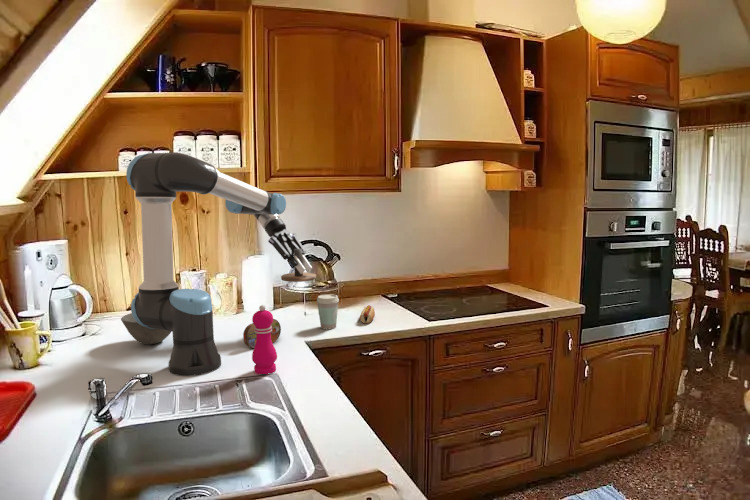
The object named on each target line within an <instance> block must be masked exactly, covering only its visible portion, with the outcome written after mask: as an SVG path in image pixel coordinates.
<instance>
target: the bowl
mask: <svg viewBox="0 0 750 500" xmlns="http://www.w3.org/2000/svg"><path fill="white" fill-rule="evenodd" d="M120 321H121V322H122V323H123V325H124V327H125V328H126V330H127V332H128V334H130V335H131V337H132V338H133V339H134V340H136V341H137V342H139V344H143V345H154V344H159V343H161V342H163V341H164V340H165V339H166V338H168V337H169V336H170V335H171V333H173V332H172V331H166V330H159V329H150V328H147V327H144V326H142V325H140V324H138V323H137V322H136V321H135V319H134V318H133V316H132V312H130V313H127V314H126V315H123V316H122V317H121V318H120Z"/></svg>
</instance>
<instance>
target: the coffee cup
mask: <svg viewBox="0 0 750 500" xmlns="http://www.w3.org/2000/svg"><path fill="white" fill-rule="evenodd" d="M339 302H340V299H339V296H338V295H337V294H332V293H329V294H320V295H318V296H317V299H316V303H317V309H318V310H317V311H318V316H319V323H320V328H321V329H323V330H333V329H335V328H337V324H338V323H337V322H338V321H337V320H338V312H339V311H338V310H339Z"/></svg>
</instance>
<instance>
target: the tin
mask: <svg viewBox="0 0 750 500" xmlns="http://www.w3.org/2000/svg"><path fill="white" fill-rule="evenodd" d="M271 326H272V331H271V340H272V343H273V344H274V343H275V342H277V341H278V339H279V338H280V337H281V330H282V327H281V324H280V321H278V320H277V319H275V318H273V322H272V324H271ZM255 327H256V326H255V325H254V324H253V322H252V323H250V324H248V325H247V326H246V327H245V329H244V330H243V333H242V335H243V336H242V338H243V339H242V340H243V343H244V345H245V346H246V347H249V348H251V349H254V347H255V345H256V338H257V336H256V333H255Z"/></svg>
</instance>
